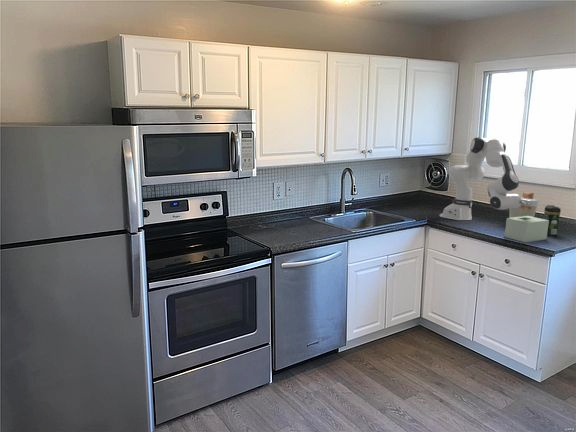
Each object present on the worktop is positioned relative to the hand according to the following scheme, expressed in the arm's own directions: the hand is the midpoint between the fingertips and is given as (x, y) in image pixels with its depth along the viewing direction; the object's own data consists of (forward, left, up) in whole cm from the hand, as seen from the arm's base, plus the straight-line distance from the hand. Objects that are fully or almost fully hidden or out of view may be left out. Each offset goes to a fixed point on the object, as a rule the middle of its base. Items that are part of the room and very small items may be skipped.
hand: (528, 200), depth 282 cm
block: (0, -1, -5) cm, 6 cm away
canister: (-8, +32, -24) cm, 41 cm away
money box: (+1, -2, -23) cm, 24 cm away
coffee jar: (+11, +22, -24) cm, 34 cm away
